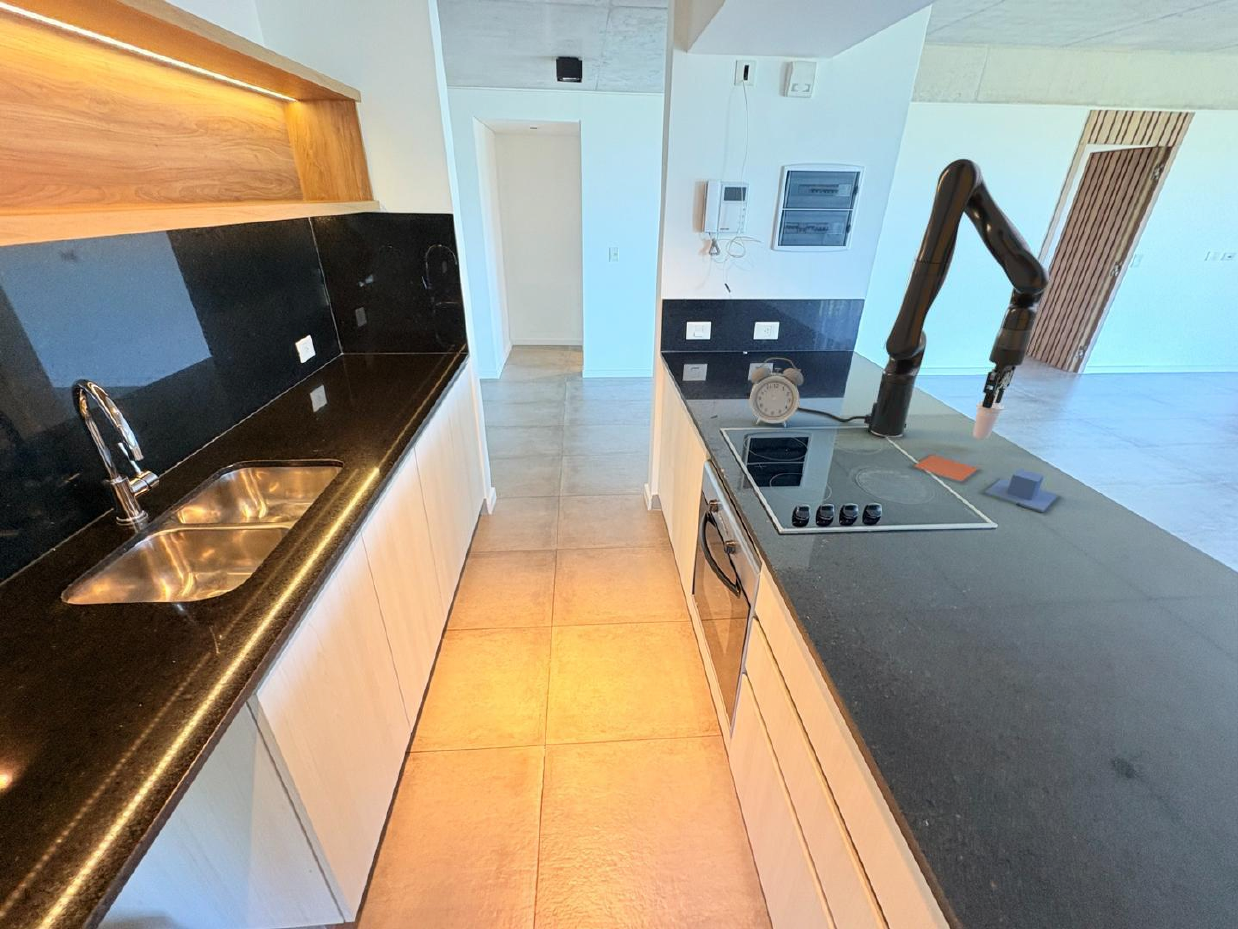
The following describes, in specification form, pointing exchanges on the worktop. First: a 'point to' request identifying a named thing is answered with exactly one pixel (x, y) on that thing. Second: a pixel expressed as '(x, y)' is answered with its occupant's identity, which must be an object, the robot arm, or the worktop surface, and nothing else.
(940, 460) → the terracotta mat
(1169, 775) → the worktop surface
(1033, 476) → the blue block
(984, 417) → the smoothie
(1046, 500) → the blue mat
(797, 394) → the alarm clock
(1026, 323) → the robot arm
